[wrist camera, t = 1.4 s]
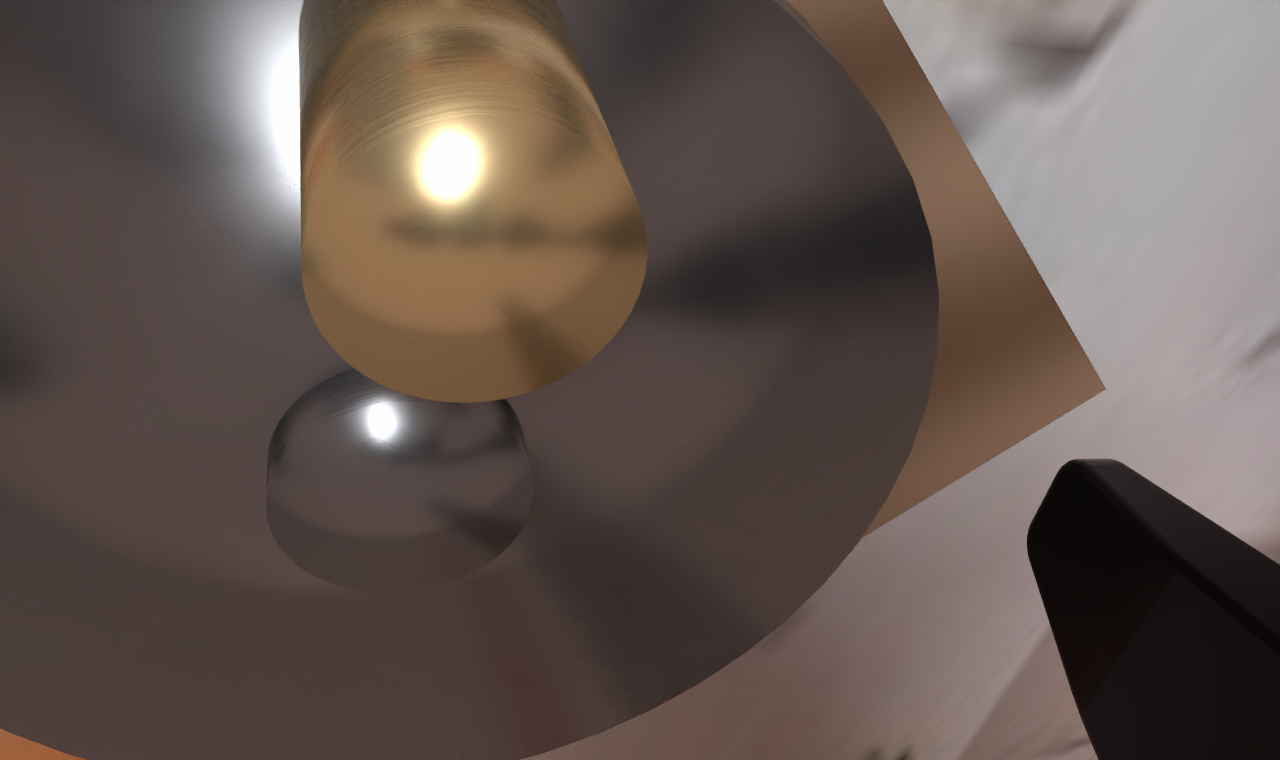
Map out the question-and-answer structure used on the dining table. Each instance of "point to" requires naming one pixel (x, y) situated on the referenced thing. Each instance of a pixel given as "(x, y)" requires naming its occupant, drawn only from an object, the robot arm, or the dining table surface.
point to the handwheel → (431, 364)
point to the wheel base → (960, 273)
